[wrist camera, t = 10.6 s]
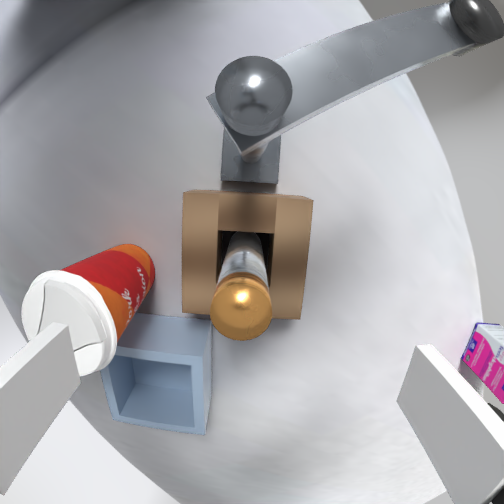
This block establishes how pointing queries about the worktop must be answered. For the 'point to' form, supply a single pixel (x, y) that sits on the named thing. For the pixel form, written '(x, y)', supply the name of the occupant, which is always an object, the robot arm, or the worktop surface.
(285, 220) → the socket block
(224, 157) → the base
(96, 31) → the worktop surface
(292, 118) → the grey tall angled piece
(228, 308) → the pin
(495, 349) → the supplement box
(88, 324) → the paper cup
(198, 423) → the blue open box
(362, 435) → the worktop surface
